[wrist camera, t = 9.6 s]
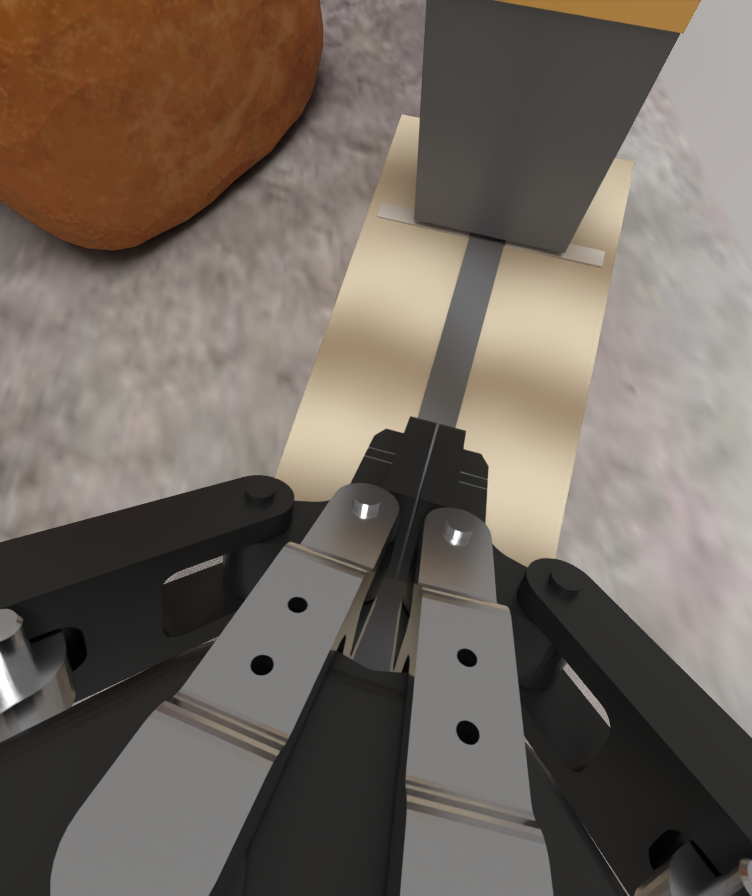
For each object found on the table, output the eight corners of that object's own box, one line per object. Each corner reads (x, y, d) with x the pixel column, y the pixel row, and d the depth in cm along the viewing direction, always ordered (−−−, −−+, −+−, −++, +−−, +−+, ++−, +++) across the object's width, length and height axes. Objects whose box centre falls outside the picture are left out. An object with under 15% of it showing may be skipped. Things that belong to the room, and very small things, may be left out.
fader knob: (565, 254, 19) (704, -7, 11) (412, 220, 20) (426, -53, 11) (582, 179, 20) (724, -119, 11) (435, 149, 21) (465, -156, 12)
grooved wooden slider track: (490, 765, 17) (507, 797, 15) (225, 676, 18) (198, 691, 16) (609, 205, 23) (635, 159, 20) (401, 161, 24) (401, 112, 21)
